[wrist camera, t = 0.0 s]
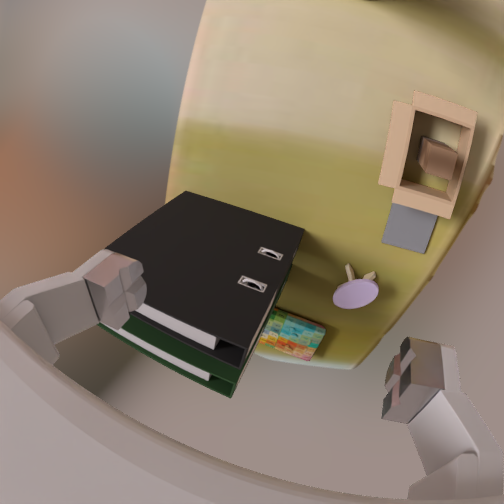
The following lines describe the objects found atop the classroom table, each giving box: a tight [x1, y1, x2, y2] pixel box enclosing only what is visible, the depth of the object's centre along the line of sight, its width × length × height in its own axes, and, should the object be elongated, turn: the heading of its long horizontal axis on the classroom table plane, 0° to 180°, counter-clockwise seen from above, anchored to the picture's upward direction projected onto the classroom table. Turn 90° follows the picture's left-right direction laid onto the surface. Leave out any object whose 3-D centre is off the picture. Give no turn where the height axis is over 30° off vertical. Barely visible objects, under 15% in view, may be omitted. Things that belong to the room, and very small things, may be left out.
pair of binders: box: [96, 191, 304, 398], centre depth 54 cm, size 27×15×32 cm, turn 78°
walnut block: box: [417, 136, 458, 181], centre depth 40 cm, size 4×4×9 cm
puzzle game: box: [259, 308, 326, 361], centre depth 74 cm, size 12×5×20 cm
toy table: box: [333, 264, 379, 309], centre depth 60 cm, size 10×9×6 cm
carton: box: [378, 90, 478, 219], centre depth 42 cm, size 19×14×5 cm
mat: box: [382, 203, 438, 254], centre depth 52 cm, size 9×9×1 cm
